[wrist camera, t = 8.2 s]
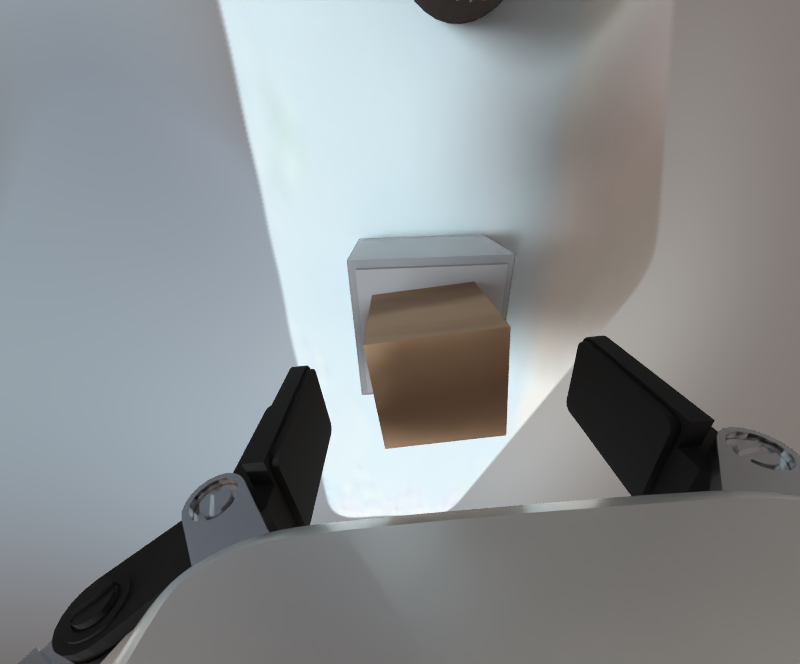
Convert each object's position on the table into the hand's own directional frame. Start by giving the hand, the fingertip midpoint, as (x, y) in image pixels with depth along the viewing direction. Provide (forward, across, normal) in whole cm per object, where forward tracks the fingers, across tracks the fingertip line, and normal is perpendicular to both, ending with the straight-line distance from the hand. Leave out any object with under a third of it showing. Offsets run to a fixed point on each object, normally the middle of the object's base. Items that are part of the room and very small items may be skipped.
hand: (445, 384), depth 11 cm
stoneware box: (+12, 0, +1) cm, 12 cm away
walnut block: (+5, 0, +1) cm, 5 cm away
